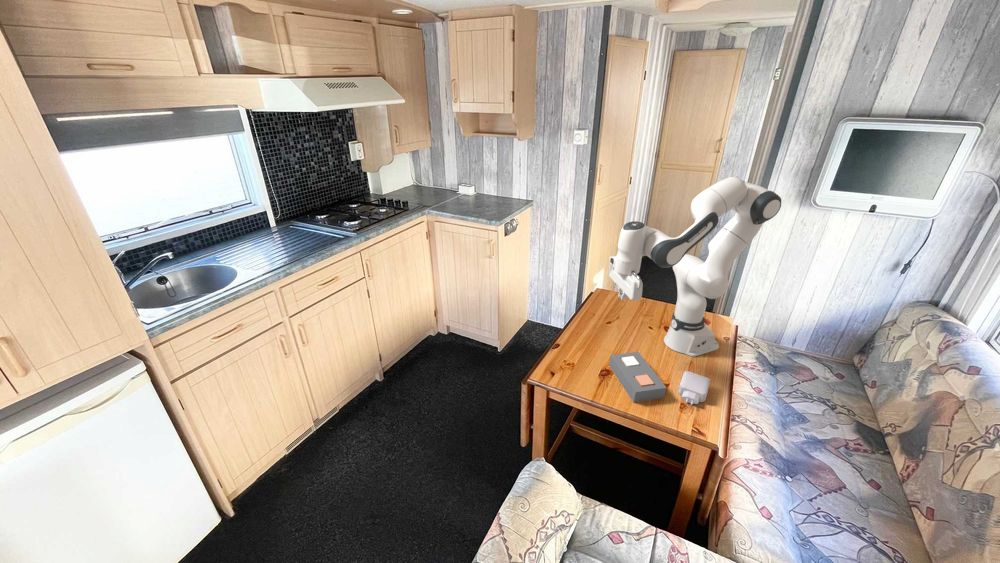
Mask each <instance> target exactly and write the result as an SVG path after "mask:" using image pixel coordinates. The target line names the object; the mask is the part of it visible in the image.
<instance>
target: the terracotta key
mask: <svg viewBox="0 0 1000 563" xmlns="http://www.w3.org/2000/svg"><path fill="white" fill-rule="evenodd" d="M635 379H636V381H637V382H638V384H639V385H640V386H641V387H644V386H651V385H654V383H653V381H652V380H651V379H650V377H649V376H648V375H647V374H646V375H639V376H635Z"/></svg>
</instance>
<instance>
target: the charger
mask: <svg viewBox="0 0 1000 563" xmlns="http://www.w3.org/2000/svg"><path fill="white" fill-rule="evenodd" d="M710 384H711V379H710V378H709V377H706V376H704V375H701V374H698V373H694V372H692V371H688V370H685V371H683V374H682V378H681V380H680V383H679V386H678V388H677V389H678V390H677V393H678V394H679V395H680V396H681V398H682V400H683V401H685V404H688V403H689V404H690V405H691V406H693V405H698V404H699V403H704V402H706V399H707V395H708V392H709V388H710Z"/></svg>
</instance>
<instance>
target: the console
mask: <svg viewBox="0 0 1000 563" xmlns="http://www.w3.org/2000/svg"><path fill="white" fill-rule="evenodd" d="M609 356H610V358H609V362H608V365H609V367H610V369H611V370H612V372H613V373H614V374H613V375H615V377H616V378H617V379H618V381H619V383H620V384H621V386H622V387H623V389H624V390H625V392H626V394H627V395H628V397H629V398H630V399H631V401H632V402H633V403H639V402H646V401H653V400H660V399H665V396H666V391H667V386H666V385H665V384H664V383H663V381H662V380H661V378H660V377H659V376H658V375H657V373H655V371H654V370H653V368H651V366H650V365H649V363H648V362H647V361H646V359H644V357H643V355H642V354H641V353H640V352H639V351H635V352H627V353H619V354H618V353H617V354H610V355H609ZM630 356H634V358H635V359H636V360H637V362H638V363H639V366H632V367H626V365H625V364H624V362H623V361H622V360H621V358H623V357H630ZM646 374H647V375H648V376H649V377H650V379H651V380H652V381H653V383H654V385H651V386H644V387H641V386H640V385H639V384H638V382H637V381H636V379H635V376H639V375H646Z"/></svg>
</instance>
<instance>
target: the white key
mask: <svg viewBox="0 0 1000 563" xmlns="http://www.w3.org/2000/svg"><path fill="white" fill-rule="evenodd" d="M621 360H622V361H623V362H624V364H625V365H626V367H632V366H639V363H638V362H637V360H636V359H635V358H634V356H630V357H623V358H621Z"/></svg>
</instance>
